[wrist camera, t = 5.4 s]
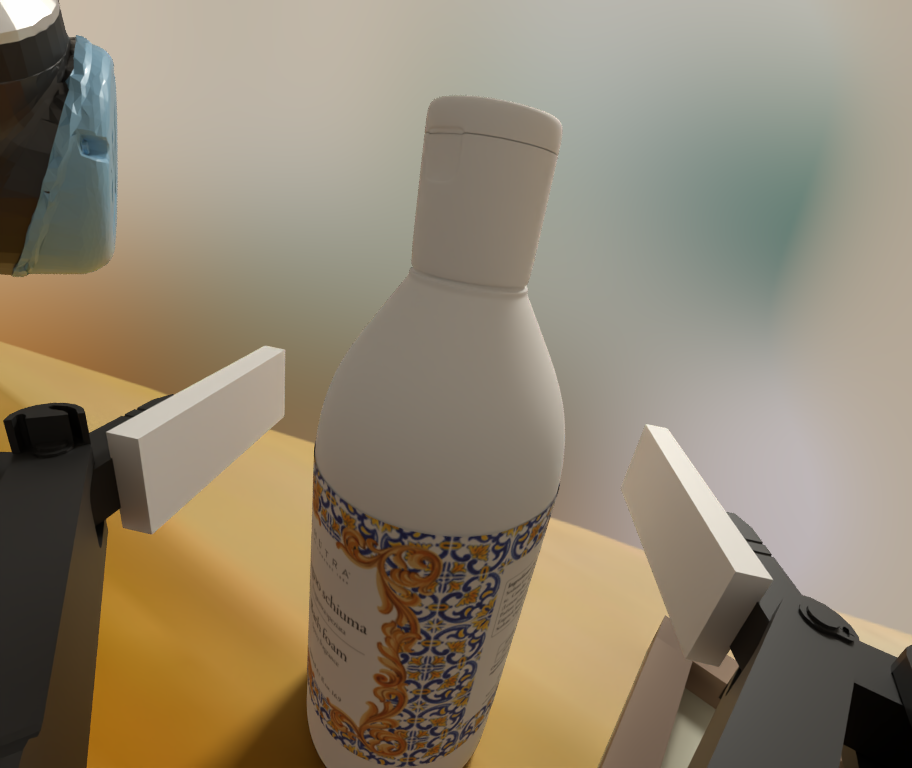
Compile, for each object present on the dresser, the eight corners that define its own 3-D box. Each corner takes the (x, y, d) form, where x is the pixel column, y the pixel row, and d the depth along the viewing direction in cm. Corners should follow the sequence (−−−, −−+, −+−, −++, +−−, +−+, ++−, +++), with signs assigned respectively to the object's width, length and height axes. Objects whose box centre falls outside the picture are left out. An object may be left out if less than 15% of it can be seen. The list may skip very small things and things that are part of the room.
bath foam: (275, 675, 17) (267, 72, 9) (416, 592, 21) (491, 142, 14) (368, 873, 12) (509, 23, 5) (520, 715, 17) (722, 151, 9)
